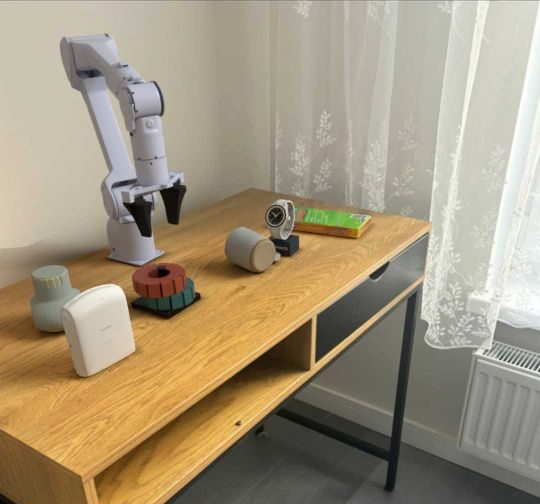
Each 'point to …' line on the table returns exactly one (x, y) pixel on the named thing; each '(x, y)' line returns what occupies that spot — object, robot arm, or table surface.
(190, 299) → the teal ring
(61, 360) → the table surface
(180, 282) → the brick ring
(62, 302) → the air freshener
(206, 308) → the table surface
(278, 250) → the watch
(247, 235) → the ceramic mug
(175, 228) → the table surface
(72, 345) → the photo printer
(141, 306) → the peg stand
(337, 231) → the game box
